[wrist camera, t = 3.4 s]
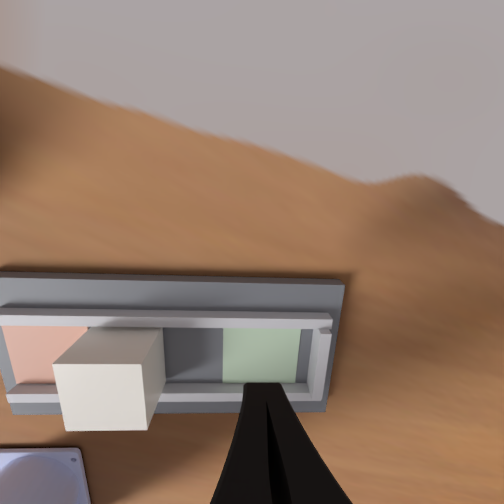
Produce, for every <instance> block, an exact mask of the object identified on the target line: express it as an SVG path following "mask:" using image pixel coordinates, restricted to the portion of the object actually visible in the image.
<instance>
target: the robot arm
mask: <svg viewBox="0 0 504 504" xmlns="http://www.w3.org/2000/svg"><path fill="white" fill-rule="evenodd" d="M0 504H91V502H90V497H89V491H88V486H87V481H86V476H85V471H84V465H83V460H82V455H81V451H80V449H78V448H22V449H0ZM210 504H352V502H351V501H350V499H349V498H348V497H347V495H346V494H345V492H344V491H343V490H342V488H341V487H340V485H339V484H338V482H337V481H336V479H335V478H334V476H333V475H332V473H331V472H330V470H329V469H328V467H327V466H326V464H325V463H324V461H323V460H322V458H321V457H320V455H319V453H318V452H317V450H316V448H315V447H314V445H313V444H312V442H311V440H310V438H309V437H308V435H307V433H306V432H305V430H304V428H303V426H302V425H301V423H300V421H299V419H298V417H297V416H296V414H295V412H294V410H293V408H292V406H291V404H290V402H289V400H288V398H287V396H286V394H285V391H284V389H283V387H282V385H281V384H280V383H279V382H247V383H245V384H244V385H243V398H242V404H241V409H240V414H239V418H238V422H237V426H236V429H235V433H234V437H233V440H232V443H231V447H230V450H229V453H228V456H227V458H226V461H225V464H224V467H223V470H222V473H221V476H220V479H219V481H218V484H217V487H216V489H215V492H214V495H213V497H212V500H211V502H210Z"/></svg>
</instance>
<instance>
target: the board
mask: <svg viewBox="0 0 504 504" xmlns="http://www.w3.org/2000/svg"><path fill="white" fill-rule="evenodd" d="M344 289H345V285H344V284H343V283H342V282H341V281H340V280H339V279H309V278H266V277H223V276H180V275H137V274H94V273H52V272H9V271H0V370H1V373H2V377H3V381H4V384H5V388H6V392H7V394H6V397H7V400H8V403H10V406H11V410H12V413H13V415H43V414H62V410H61V405H60V400H59V395H58V391H57V386H56V381H55V376H54V371H53V367H52V364H53V363H54V362H55V361H56V360H57V359H58V358H59V357H60V356H61V355H62V354H63V353H64V352H65V351H66V350H67V349H68V348H69V347H71V346H72V345H73V344H74V343H75V342H76V341H77V340H78V339H79V338H80V337H81V336H82V335H83V334H84V333H85V332H86V331H87V330H88V329H90V328H91V327H163V341H164V358H165V374H166V382H165V385H164V388H163V390H162V393H161V396H160V398H159V401H158V403H157V406H156V409H155V411H154V414H159V413H240V409H241V404H242V398H243V385H244V384H245V383H247V382H279V383H280V384H281V385H282V387H283V389H284V391H285V394H286V396H287V398H288V400H289V402H290V404H291V406H292V408H293V410H294V412H325V411H326V404H327V398H328V392H329V385H330V379H331V372H332V366H333V359H334V353H335V347H336V340H337V334H338V327H339V321H340V315H341V308H342V302H343V295H344Z"/></svg>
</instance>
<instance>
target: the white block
mask: <svg viewBox="0 0 504 504" xmlns="http://www.w3.org/2000/svg"><path fill="white" fill-rule="evenodd" d="M52 367H53V371H54V376H55V381H56V386H57V391H58V395H59V400H60V405H61V410H62V415H63V419H64V424H65V429H66V431H113V430H148V427H149V424H150V422H151V419H152V417H153V414H154V411H155V409H156V406H157V403H158V401H159V398H160V396H161V393H162V390H163V388H164V385H165V382H166V374H165V358H164V341H163V327H91V328H90V329H88V330H87V331H86V332H85V333H84V334H83V335H82V336H81V337H80V338H79V339H78V340H77V341H76V342H75V343H74V344H73V345H72V346H71V347H69V348H68V349H67V350H66V351H65V352H64V353H63V354H62V355H61V356H60V357H59V358H58V359H57V360H56V361H55V362H54V363H53V364H52Z"/></svg>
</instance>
